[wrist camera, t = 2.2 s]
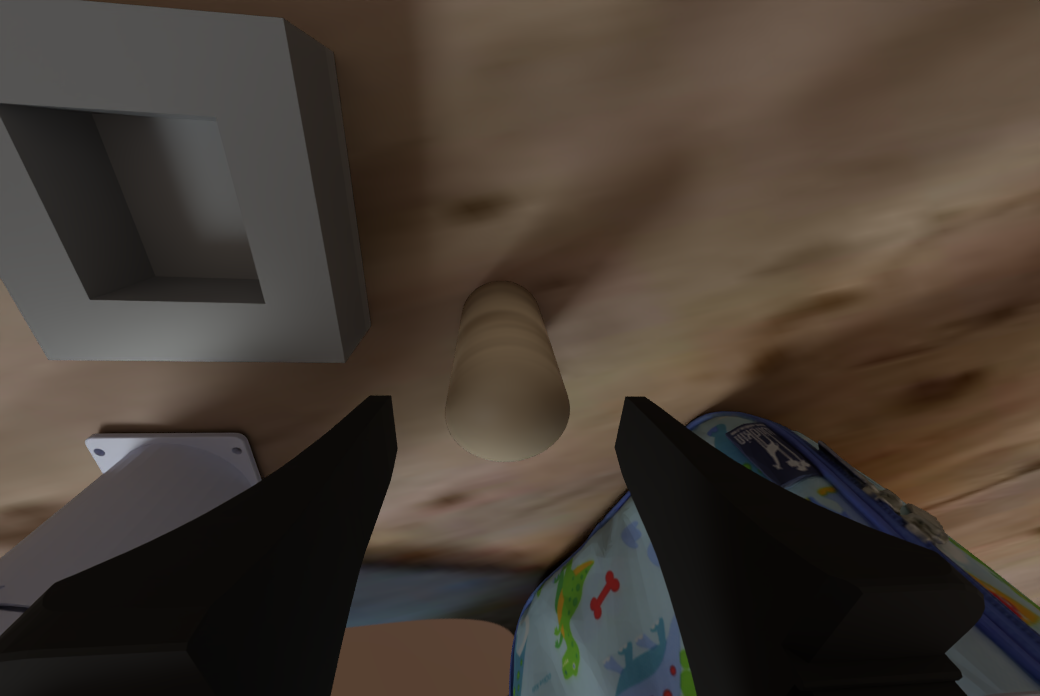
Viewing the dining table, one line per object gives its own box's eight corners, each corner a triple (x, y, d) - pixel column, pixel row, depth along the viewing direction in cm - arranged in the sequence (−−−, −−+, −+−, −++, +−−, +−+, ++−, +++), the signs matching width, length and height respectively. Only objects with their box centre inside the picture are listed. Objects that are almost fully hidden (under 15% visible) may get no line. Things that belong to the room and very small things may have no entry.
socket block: (370, 325, 19) (345, 362, 15) (131, 321, 18) (48, 359, 14) (333, 51, 14) (282, 17, 10) (-1, 25, 13) (-174, -22, 9)
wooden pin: (537, 354, 20) (563, 461, 13) (462, 353, 20) (447, 462, 13) (542, 282, 18) (577, 361, 11) (460, 279, 18) (442, 359, 11)
